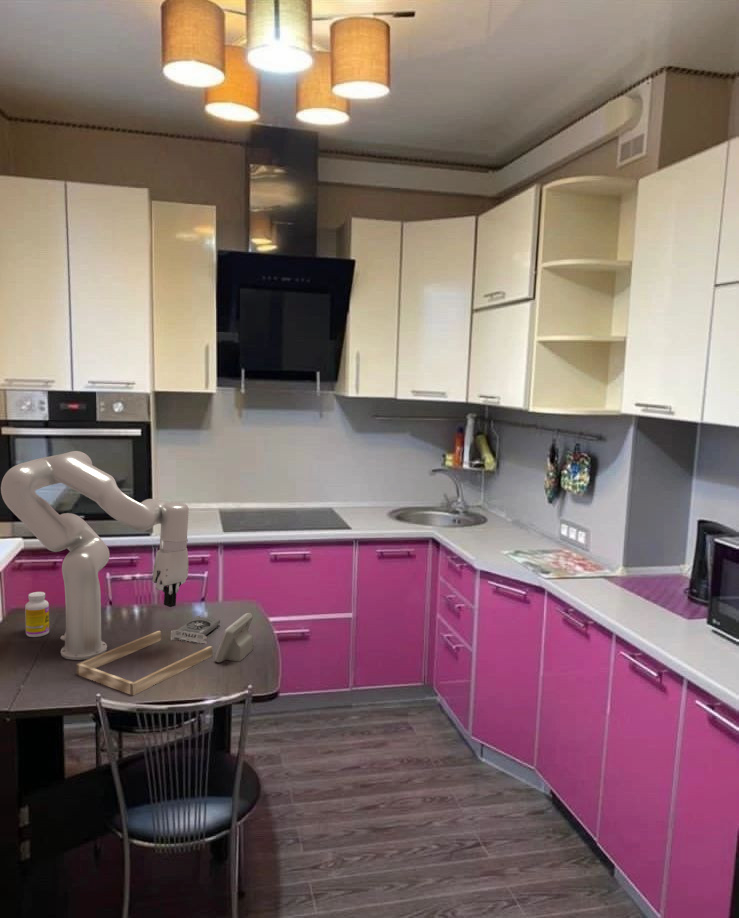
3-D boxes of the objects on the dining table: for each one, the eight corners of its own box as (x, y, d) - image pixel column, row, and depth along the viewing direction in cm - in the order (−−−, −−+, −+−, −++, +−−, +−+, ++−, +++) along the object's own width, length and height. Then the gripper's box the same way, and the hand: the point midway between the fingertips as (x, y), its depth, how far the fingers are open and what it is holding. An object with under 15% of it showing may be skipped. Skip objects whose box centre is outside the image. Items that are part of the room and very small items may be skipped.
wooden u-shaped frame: (76, 674, 184) (76, 664, 184) (158, 639, 210) (158, 630, 210) (133, 695, 174) (132, 684, 173) (212, 656, 199) (212, 646, 199)
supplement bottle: (48, 636, 209) (47, 596, 208) (24, 639, 207) (23, 598, 205) (50, 628, 216) (49, 589, 214) (27, 631, 213) (25, 591, 211)
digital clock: (239, 642, 211) (239, 609, 209) (263, 648, 207) (263, 614, 206) (205, 661, 196) (205, 625, 195) (230, 667, 192) (230, 631, 191)
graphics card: (205, 636, 207) (169, 630, 209) (204, 647, 207) (169, 642, 210) (229, 618, 223) (196, 613, 226) (228, 629, 223) (195, 623, 226)
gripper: (182, 538, 205) (178, 596, 207) (144, 546, 192) (140, 608, 194) (201, 543, 201) (197, 602, 204) (163, 552, 188) (159, 615, 191)
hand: (169, 605), depth 199 cm, fingers closed
